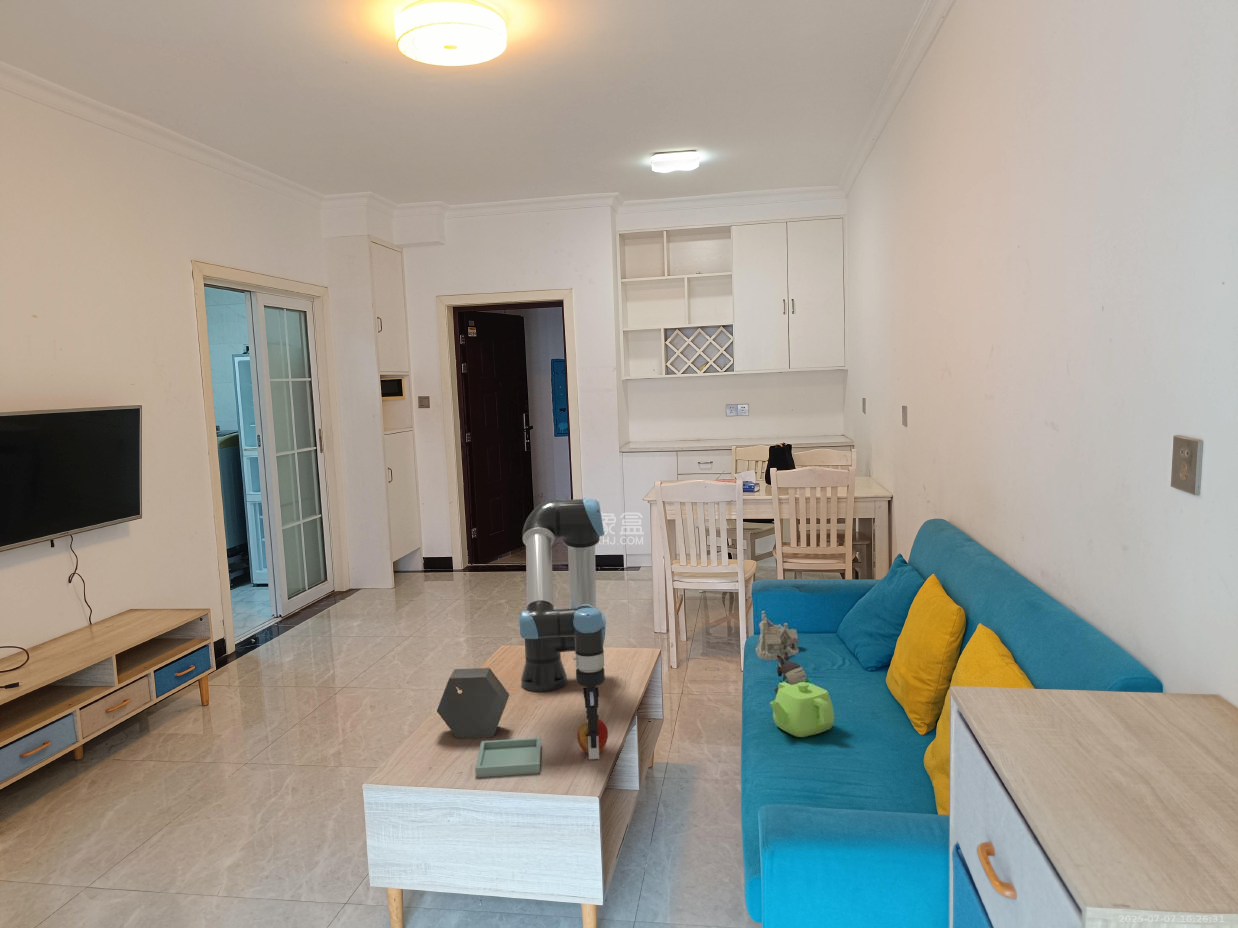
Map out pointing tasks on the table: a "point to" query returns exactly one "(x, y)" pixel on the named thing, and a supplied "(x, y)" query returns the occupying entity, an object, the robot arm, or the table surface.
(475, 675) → the grey hexagonal block
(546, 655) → the robot arm
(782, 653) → the ceramic cottage
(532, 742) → the dish
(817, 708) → the teapot
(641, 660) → the table surface
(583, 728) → the apple
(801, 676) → the figurine
